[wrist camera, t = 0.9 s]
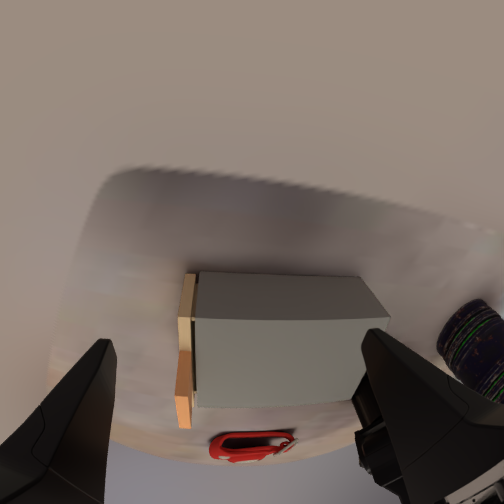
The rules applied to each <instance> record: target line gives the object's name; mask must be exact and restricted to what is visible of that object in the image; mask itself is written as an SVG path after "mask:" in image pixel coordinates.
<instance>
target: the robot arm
mask: <svg viewBox="0 0 504 504" xmlns="http://www.w3.org/2000/svg"><path fill="white" fill-rule="evenodd" d="M361 352H362V355H363V359H364V362H365V366H366V370H367V372H366V373H365V374H364V376H363V377H362V379H361V381H360V383H359V385H358V387H357V389H356V391H355V392H354V394H353V396H352V398H351V400H352V403H353V405H354V408H355V410H356V413H357V415H358V417H359V420H360V422H361V425H362V427H363V429H361V430H358V431H356V432H354V433H355V442H356V446H357V451H358V455H359V465H360V467H363V468H365V469H366V471H367V472H368V473H369V474H370V475H373V478H374V481H375V483H377V484H378V485H379V486H381V487H384V488H385V489H387V490H389V491H391V492H392V493H394V494H396V495H398V496H399V498H400V501H401V503H402V504H504V404H499V403H496V402H493V401H491V400H489V399H488V398H486V397H484V396H482V395H480V394H479V393H477V392H475V391H473V390H472V389H470V388H468V387H466V386H465V385H463V384H461V383H460V382H458V381H457V380H455V379H454V378H452V377H451V376H449V375H448V374H446V373H445V372H443V371H442V370H440V369H439V368H438V367H436V366H435V365H433V364H432V363H430V362H429V361H427V360H426V359H424V358H423V357H421V356H420V355H418V354H417V353H415V352H414V351H412V350H411V349H409V348H408V347H406V346H405V345H403V344H402V343H400V342H399V341H398V340H396V339H395V338H393V337H392V336H390V335H389V334H387V333H386V332H384V331H383V330H381V329H380V328H371V329H368V330H367V332H366V334H365V337H364V339H363V341H362V343H361ZM116 368H117V356H116V353H115V350H114V347H113V343H112V341H111V340H110V339H102V338H100V339H98V340H97V341H96V342H95V343H94V344H93V345H92V347H91V348H90V349H89V350H88V351H87V352H86V353H85V354H84V355H83V356H82V357H81V358H80V359H79V361H78V362H77V363H76V364H75V365H74V366H73V367H72V368H71V369H70V370H69V372H68V373H67V374H66V375H65V376H64V377H63V378H62V379H61V380H60V382H59V383H58V384H57V385H56V386H55V387H54V388H53V390H52V391H51V392H50V393H49V394H48V395H47V396H46V398H45V399H44V400H43V401H42V402H41V404H40V405H39V406H38V407H37V408H36V409H35V410H34V412H33V413H32V414H31V415H30V416H29V417H28V418H27V419H26V420H25V422H24V423H23V424H22V425H21V426H20V427H19V428H18V429H17V430H16V431H15V432H14V433H13V434H12V435H10V436H9V437H8V438H7V439H6V440H5V441H4V442H3V443H2V444H1V445H0V504H104V492H105V477H106V465H107V455H108V454H107V453H108V446H109V437H110V430H111V422H112V415H113V409H114V401H115V384H116ZM446 497H447V498H446ZM447 499H448V500H447ZM448 501H449V502H448Z"/></svg>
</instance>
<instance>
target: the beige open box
mask: <svg viewBox="0 0 504 504" xmlns="http://www.w3.org/2000/svg"><path fill="white" fill-rule="evenodd" d="M195 283H196V274H185V279H184V284H183V289H182V295H181V300H180V306H179V312H178V333H179V348H180V352H179V360H178V369H177V378H176V387H175V402H176V409H177V415H178V421H179V427H180V428H188V429H191V416H192V407H194V396H195V393H197V384H196V351H195V313H196V302H197V292H198V284H195Z"/></svg>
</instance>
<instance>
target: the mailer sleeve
mask: <svg viewBox="0 0 504 504" xmlns="http://www.w3.org/2000/svg"><path fill="white" fill-rule="evenodd" d="M390 318H391V317H390V315H389V314H388V313H387V311H386V310H385V309H384V307H383V306H382V305H381V303H380V302H379V301H378V299H377V298H376V297H375V295H374V294H373V293H372V291H371V290H370V289H369V288H368V286H367V285H366V284H365V282H364V281H363V280H362V279H361V277H335V276H302V275H274V274H249V273H227V272H207V271H200V274H199V283H198V292H197V302H196V313H195V351H196V384H197V406H198V407H204V408H265V407H285V406H298V405H310V404H319V403H328V402H336V401H343V400H350V399H351V398H352V396H353V394H354V392H355V391H356V389H357V387H358V385H359V383H360V381H361V379H362V377H363V376H364V374H365V372H366V366H365V362H364V359H363V355H362V352H361V343H362V341H363V339H364V337H365V334H366V332H367V330H368V329H371V328H380V329H381V330H383V331H384V332H385V329H386V327H387V325H388V322H389V320H390Z"/></svg>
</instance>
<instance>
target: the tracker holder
mask: <svg viewBox="0 0 504 504" xmlns="http://www.w3.org/2000/svg"><path fill="white" fill-rule="evenodd" d="M257 437H283V438H286V439H288V440H289V442H287V441H285V442H282V443H281V444H280V446H260V447H251V448H242V449H228V448H224V447H222V443H223V441H224V440H225V439H227V438H257ZM298 440H299V439H298V438H296V439H294V437H293V436H292V435H290V434H288V433H284V432H244V433H229V434H226V435H222V436H219V437H217V438H215V439H214V440H213V441H212V442H211V444H210V447H209V453H210V456H211V457H212V458H214V459H224V460H228V461H230V462H233V463H250V462H254V461H258V460H261V459H263V458H264V457H265V456H266V455H269V454H272V453H274V454H273V456H278V455H280V454H281V453H284V452H287V451H289V450H291V449H292V448H294V447H295V446H296V445H297V444H298V442H297V441H298ZM294 443H295V444H294ZM284 444H287V445H284Z"/></svg>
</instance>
